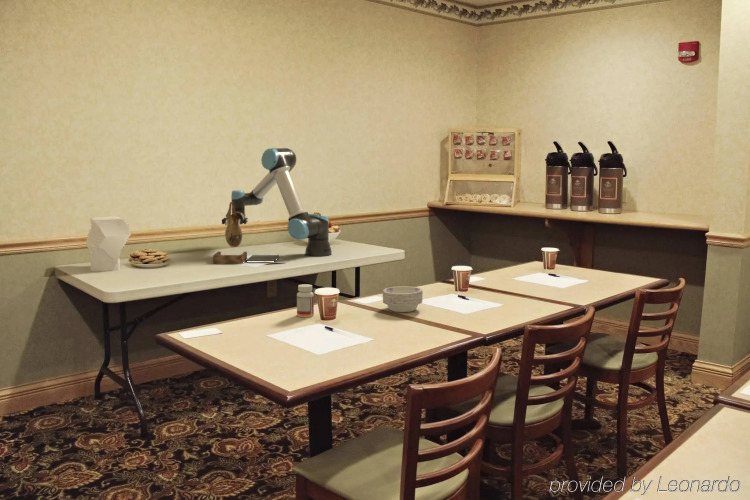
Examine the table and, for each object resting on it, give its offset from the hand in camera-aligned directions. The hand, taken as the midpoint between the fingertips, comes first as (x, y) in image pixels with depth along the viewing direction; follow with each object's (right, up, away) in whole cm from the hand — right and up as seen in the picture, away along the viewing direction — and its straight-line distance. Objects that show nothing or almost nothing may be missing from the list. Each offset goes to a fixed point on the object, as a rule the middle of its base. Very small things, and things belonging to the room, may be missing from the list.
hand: (232, 223), depth 370 cm
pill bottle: (+52, -39, -121) cm, 138 cm away
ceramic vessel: (0, -13, +7) cm, 15 cm away
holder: (0, -21, -7) cm, 22 cm away
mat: (+17, -20, 0) cm, 26 cm away
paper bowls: (+88, -38, -111) cm, 147 cm away
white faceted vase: (-57, -24, -26) cm, 67 cm away
